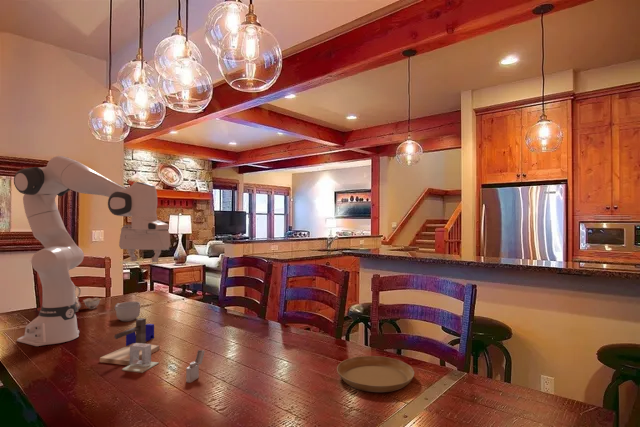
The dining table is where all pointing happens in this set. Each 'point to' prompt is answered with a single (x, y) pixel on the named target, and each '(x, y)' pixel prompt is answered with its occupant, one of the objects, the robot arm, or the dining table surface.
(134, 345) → the pinkish grey hollow block
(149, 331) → the blue notched block
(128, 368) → the felt pad
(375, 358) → the plant saucer
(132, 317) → the teacup
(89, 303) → the chinaware
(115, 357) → the hook rack
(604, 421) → the dining table surface
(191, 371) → the lighter
